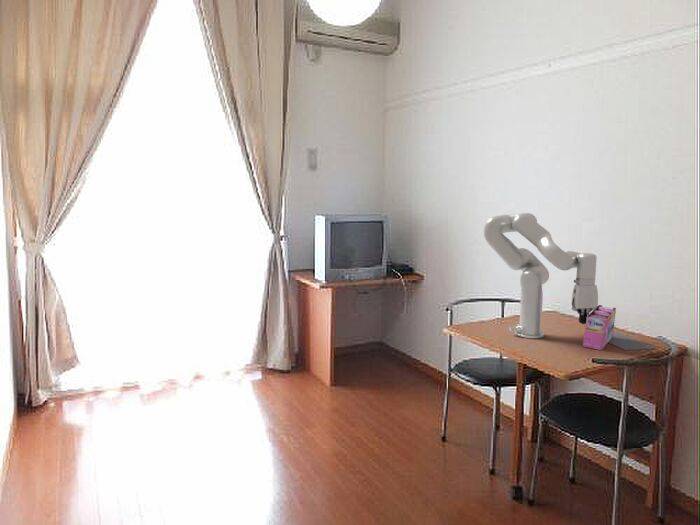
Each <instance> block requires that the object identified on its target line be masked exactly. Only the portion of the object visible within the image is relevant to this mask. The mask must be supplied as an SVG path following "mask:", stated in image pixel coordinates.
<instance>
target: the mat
mask: <svg viewBox="0 0 700 525" xmlns="http://www.w3.org/2000/svg"><path fill="white" fill-rule="evenodd" d="M608 343H609V345H612V346H615V347H616V348H619V349H620V350H622V351H638V350H639V351H641V350H643V351H644V350H655V349H656V348H655V347H653V346H651V345H648V344H646V343H644V342H642V341H639V340H637V339H635V338H633V337H631V336H628V335H626V334H624V333H621V332H618V331H617V332H615V331H613V337H612V338H611V339H610V340H609V342H608ZM608 343H607V344H608Z"/></svg>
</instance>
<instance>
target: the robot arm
mask: <svg viewBox="0 0 700 525" xmlns="http://www.w3.org/2000/svg"><path fill="white" fill-rule="evenodd" d="M515 232H516V233H519V234H520V235H521V236H522V237H523V238H524V239H526V240H528V241H527V242H530V243H531V244H532V245H533V246H534V247H535V248H537V250H538V252H539V253H540V254H541V255H542V256H543V257H544V258H545V260H547V261H548V262H549V263H551V265H553V267H556V268H557V269H559V270H561V271H564V272H565V271H569V270H571V269H576V278H575V279H574V280H573V283H575V284H574V285H573V291H572V294H571V310H572V311H574V312H577V314H578V321H579V322H578V323H579V324H582V325H586V319H587V316H588V315H589V314H590V313H591V312H592V311H593V310H595V309H596V307H597V306H598V305H599V293H598V292H599V291H598V287H597V286H598V285H596V276H597V273H596V272H597V255H596V254H594V253H590V252H583V253H582V252H578V251H571V250H570V251H569V250H568V251H565V250H563V249H561V248H560V247H559V246H558V245H557V244H556V243H555V242H554V240H553V238H552V235H551V233H550V232H549V231H548V230H547V229H546V228H545V227H544V226H542V225H541V224H540V223H538V220H537V217H536V216H535V214H533V213H529V212H524V213H515V214H513V213H512V214H500V215H496V216H492V217H490V218H489V219H488V220H487V221H486V222H485V224H484V228H483V236H484V239H485V241H486V243H487V244H488V245H489V247H490V248H491V249H492V250H494V251H495V253H496V254H497V255H498V257H500V258H501V259H502V260H503V262H504V263H505V264H506V265H507V266H508V267H509V268H510V269H511V270H513V271H520V270H521V271H522V273H521V275H520V279H519V282H520V304H519V305H520V307H519V308H520V309H519V323H517V324H516V325H515V326H509V328H508V330H509V331H510V332H515V335H516V336H519V337H521V338H524V339H541V338H544V337H545V332H543V331H542V320H543V319H542V318H543V316H542V314H543V299H544V298H543V294H544V293H543V285H544V284H547V282H548V281H549V278H550V272H549V269H548V268H547V267H546V266H545V265H544V264H543V263H542V262H541V261H540V260H539V258H538V257H537V256H536V255H535V254H534V253H533V252H532V251H531V250H529V249H527V248H518V247H517V246H516V245H515V244H514V243H513V241H512V240H510V239H509V238H508V237H507V236H506V235H505V234H506V233H515ZM504 233H505V234H504Z"/></svg>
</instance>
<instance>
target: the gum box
mask: <svg viewBox="0 0 700 525" xmlns="http://www.w3.org/2000/svg"><path fill="white" fill-rule="evenodd" d="M616 313H617V307H612V308H611V307H606V306H603V305H601V304H598V306H597V307H596V309H595V310H592V311H591V312H590V313H589V315H588V316H587V319H586V324H585V327H584V332H583V333H584V334H583V343H582V346H583V347H584V348H589V349H594V350H599V351H602V350H603V349H604V348H605V347H606V346H607V344H608V342H609V340H610V339H611V338H612V337H613V333H614V332H615V331H614V330H615V329H614V328H615V323H616V322H615V321H616V320H615V319H616Z"/></svg>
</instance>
